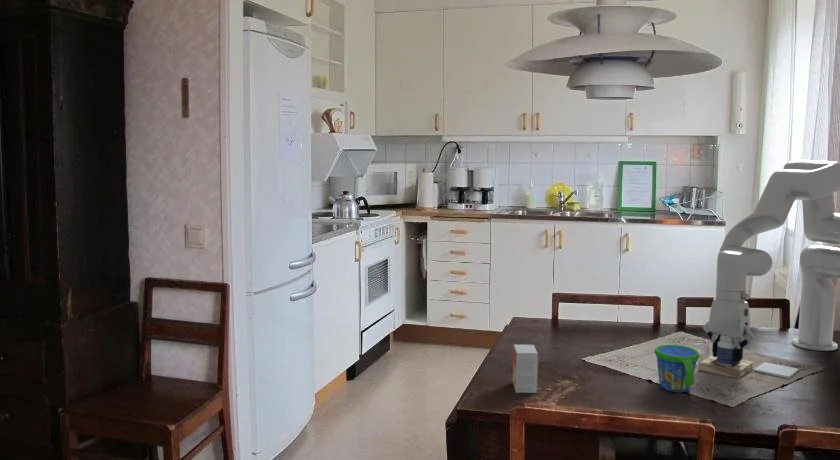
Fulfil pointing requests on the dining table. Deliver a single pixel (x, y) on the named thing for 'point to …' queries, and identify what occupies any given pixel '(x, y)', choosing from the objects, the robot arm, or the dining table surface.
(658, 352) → the snack cup
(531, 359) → the small box
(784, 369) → the coaster
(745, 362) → the socket plate
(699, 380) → the dining table surface
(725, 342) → the pill bottle
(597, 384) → the dining table surface
